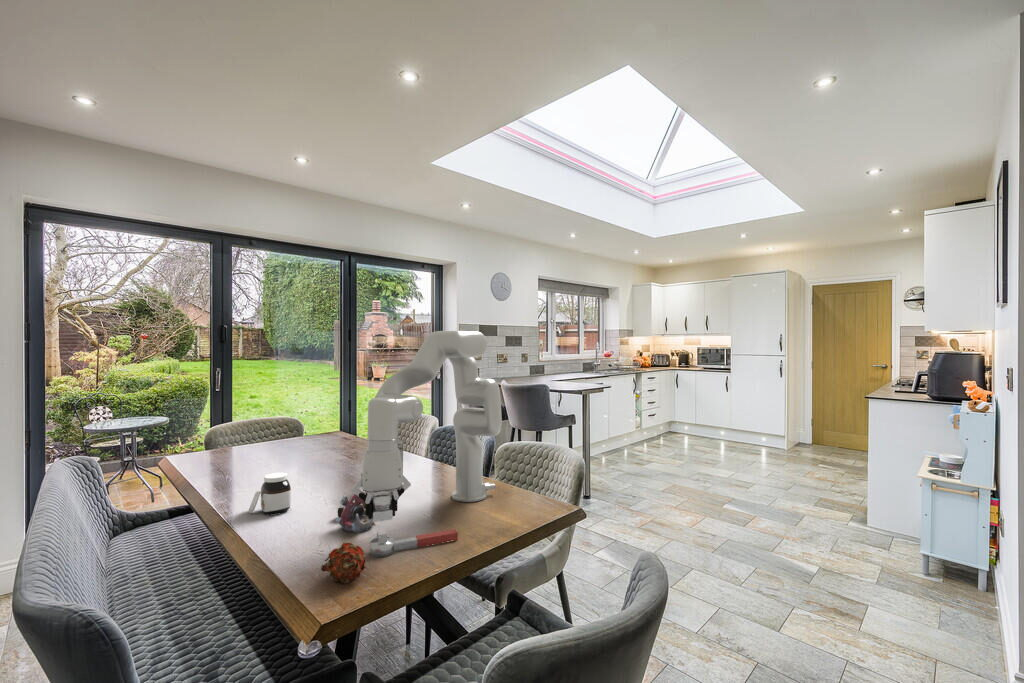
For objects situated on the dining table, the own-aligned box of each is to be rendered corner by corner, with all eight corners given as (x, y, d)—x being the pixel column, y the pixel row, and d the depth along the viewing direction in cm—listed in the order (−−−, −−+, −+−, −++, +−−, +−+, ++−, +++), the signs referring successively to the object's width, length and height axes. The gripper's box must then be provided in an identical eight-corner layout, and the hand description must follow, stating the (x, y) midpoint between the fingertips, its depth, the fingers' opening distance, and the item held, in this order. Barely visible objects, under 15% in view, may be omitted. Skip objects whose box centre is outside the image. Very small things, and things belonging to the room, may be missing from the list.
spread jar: (294, 511, 146) (294, 475, 146) (255, 521, 138) (256, 483, 138) (280, 503, 154) (280, 469, 154) (243, 512, 146) (243, 475, 146)
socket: (389, 513, 120) (390, 490, 120) (393, 519, 115) (393, 495, 116) (369, 515, 118) (370, 492, 118) (372, 522, 113) (372, 498, 113)
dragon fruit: (355, 598, 98) (332, 586, 107) (382, 563, 104) (358, 554, 112) (330, 573, 96) (308, 562, 104) (359, 539, 101) (336, 531, 109)
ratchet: (453, 534, 128) (453, 516, 128) (459, 542, 123) (459, 524, 123) (368, 549, 118) (368, 530, 119) (371, 559, 113) (371, 539, 113)
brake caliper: (354, 531, 124) (340, 491, 129) (337, 547, 130) (323, 508, 134) (388, 518, 134) (374, 482, 138) (370, 534, 139) (357, 498, 143)
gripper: (412, 440, 124) (411, 507, 124) (346, 445, 117) (345, 516, 117) (418, 445, 117) (417, 516, 117) (349, 451, 110) (347, 526, 110)
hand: (381, 515), depth 117 cm, fingers closed on socket, 5 cm apart
